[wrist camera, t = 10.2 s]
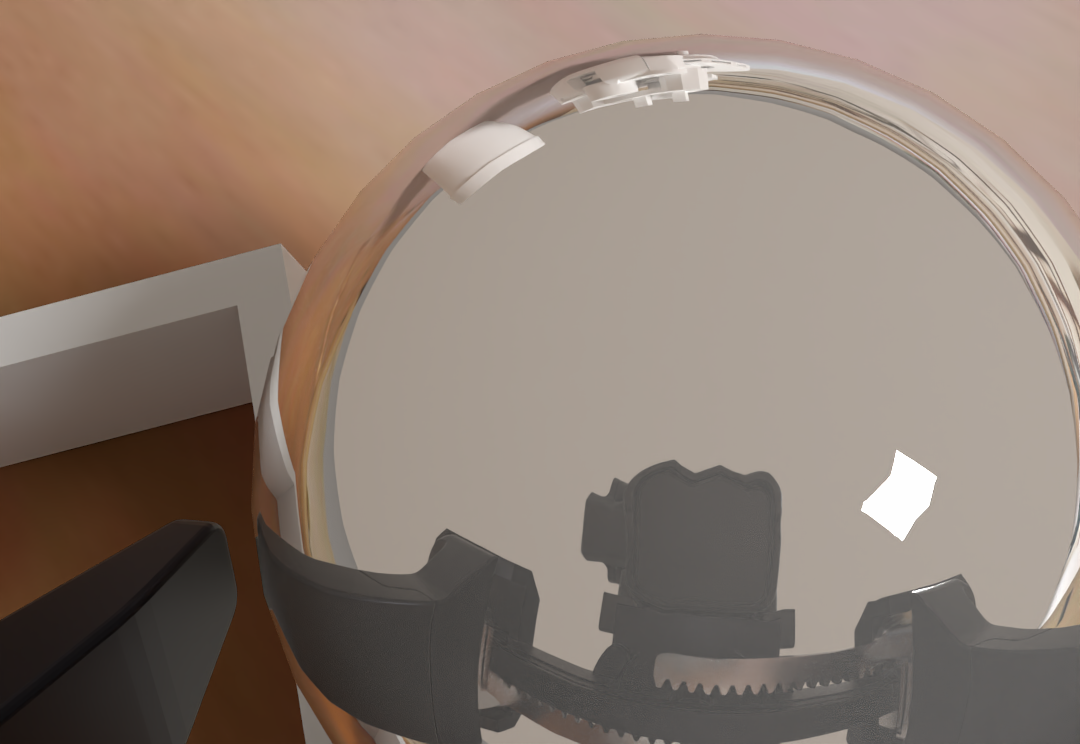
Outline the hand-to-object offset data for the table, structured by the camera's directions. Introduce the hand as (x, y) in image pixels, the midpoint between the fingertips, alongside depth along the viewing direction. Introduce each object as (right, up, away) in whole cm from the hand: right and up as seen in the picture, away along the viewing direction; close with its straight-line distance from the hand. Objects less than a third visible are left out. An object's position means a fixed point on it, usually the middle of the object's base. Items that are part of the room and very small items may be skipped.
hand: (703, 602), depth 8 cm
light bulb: (+1, -1, +8) cm, 8 cm away
